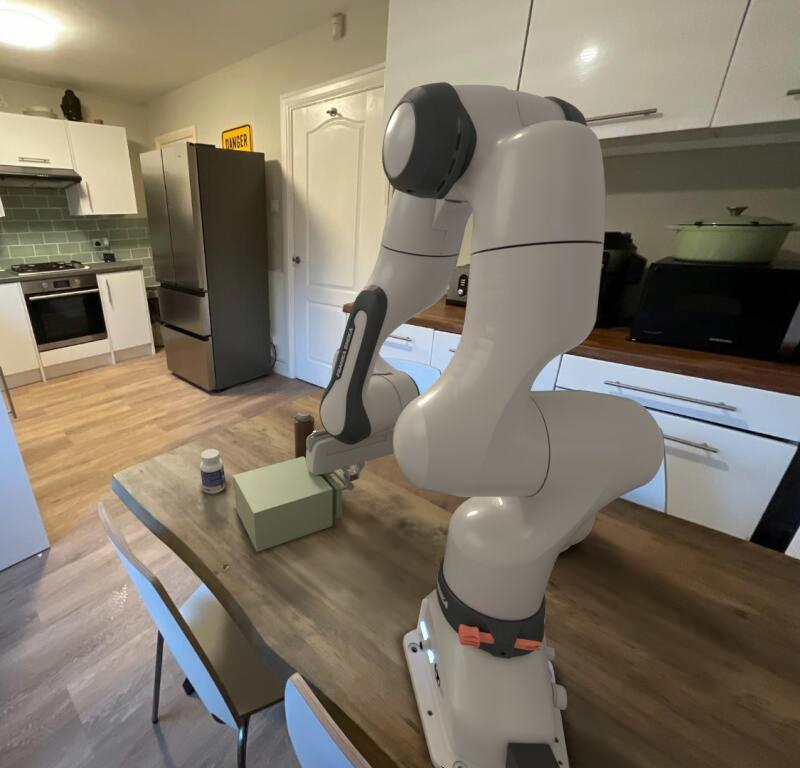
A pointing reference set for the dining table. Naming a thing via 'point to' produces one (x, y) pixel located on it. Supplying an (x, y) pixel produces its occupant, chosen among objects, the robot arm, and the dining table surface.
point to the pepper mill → (302, 431)
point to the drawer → (337, 489)
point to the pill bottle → (212, 471)
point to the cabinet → (282, 502)
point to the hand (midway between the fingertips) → (351, 479)
